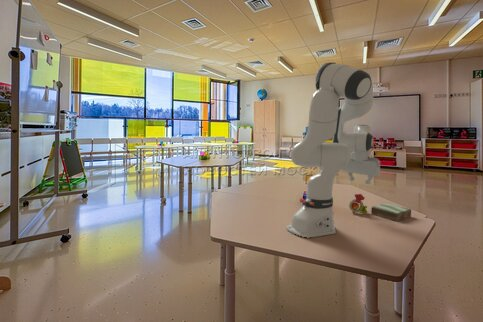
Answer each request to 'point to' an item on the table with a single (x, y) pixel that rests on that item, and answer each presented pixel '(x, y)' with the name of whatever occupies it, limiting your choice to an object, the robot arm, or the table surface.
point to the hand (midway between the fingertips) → (359, 182)
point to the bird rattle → (355, 206)
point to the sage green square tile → (391, 212)
